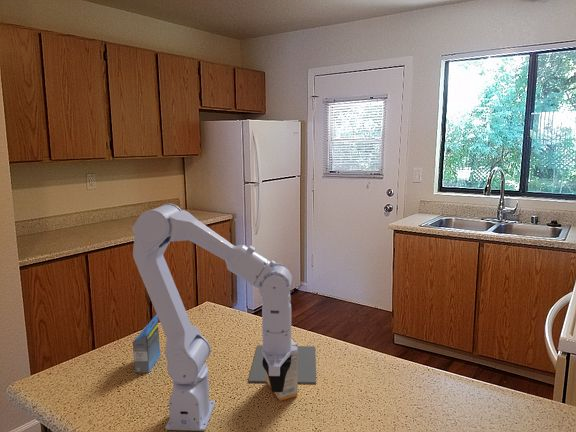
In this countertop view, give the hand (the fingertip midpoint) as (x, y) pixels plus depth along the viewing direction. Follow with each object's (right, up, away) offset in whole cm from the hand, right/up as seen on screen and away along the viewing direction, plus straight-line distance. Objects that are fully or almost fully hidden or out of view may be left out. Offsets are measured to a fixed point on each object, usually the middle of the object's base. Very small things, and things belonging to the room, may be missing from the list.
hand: (277, 390), depth 87 cm
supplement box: (+1, -5, +11) cm, 12 cm away
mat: (+1, -3, +23) cm, 23 cm away
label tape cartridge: (-34, -3, +23) cm, 41 cm away
